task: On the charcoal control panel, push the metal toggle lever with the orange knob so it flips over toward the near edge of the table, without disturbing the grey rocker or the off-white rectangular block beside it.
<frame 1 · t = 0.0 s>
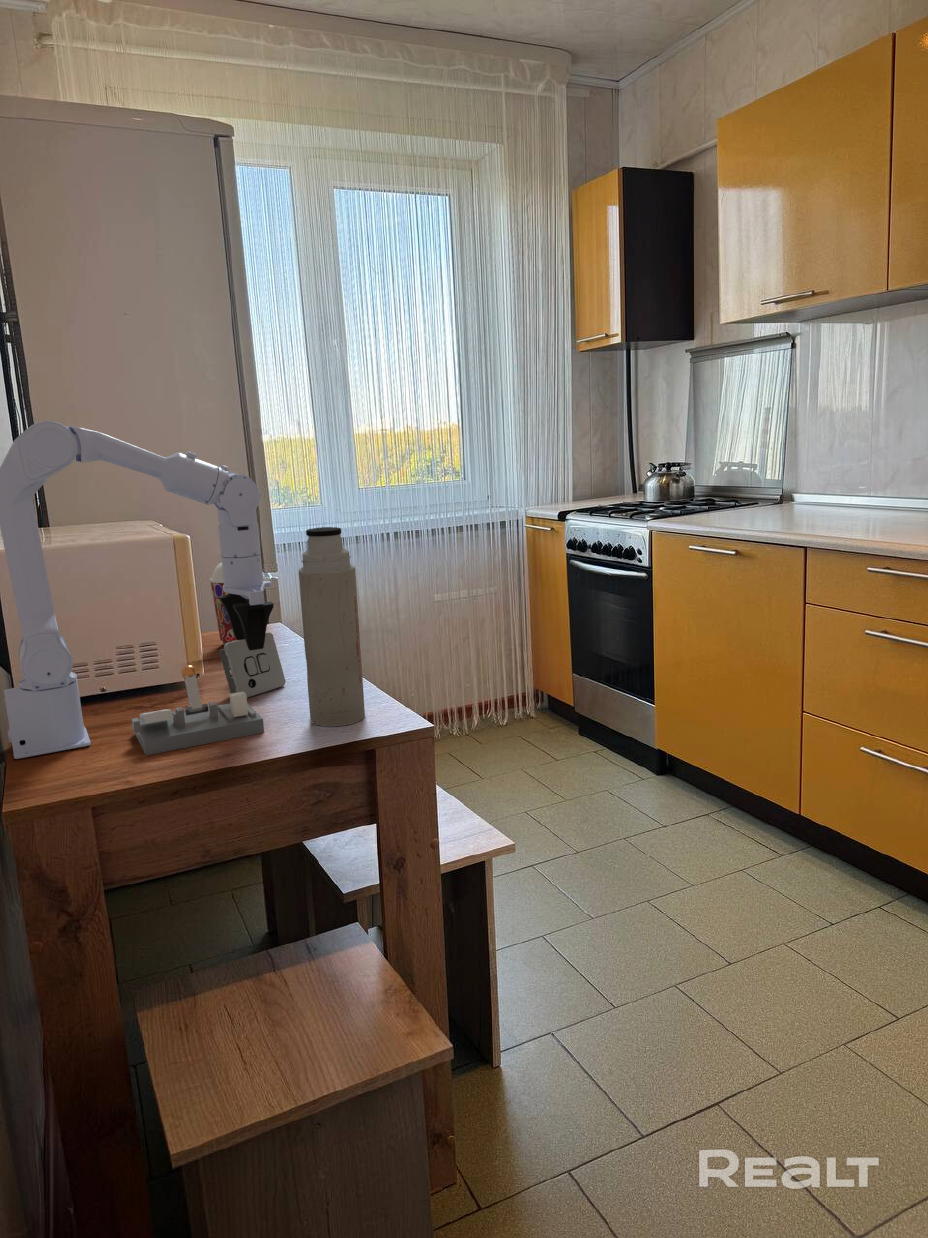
hand: (249, 644, 132), 10 cm above the table, tool pointing down, fingers open, 7 cm apart
off-white rectangular block: (238, 704, 124), point 4 cm above the table, slide at -2.0 cm
thermos bottle: (337, 719, 128), on the table
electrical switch: (253, 692, 143), on the table
supplement bottle: (255, 675, 153), on the table
rocker: (156, 715, 121), point 4 cm above the table, hinge at -15.0°
smoothie: (238, 645, 175), on the table
lever: (192, 689, 124), point 6 cm above the table, hinge at -30.0°
panel: (199, 733, 124), on the table
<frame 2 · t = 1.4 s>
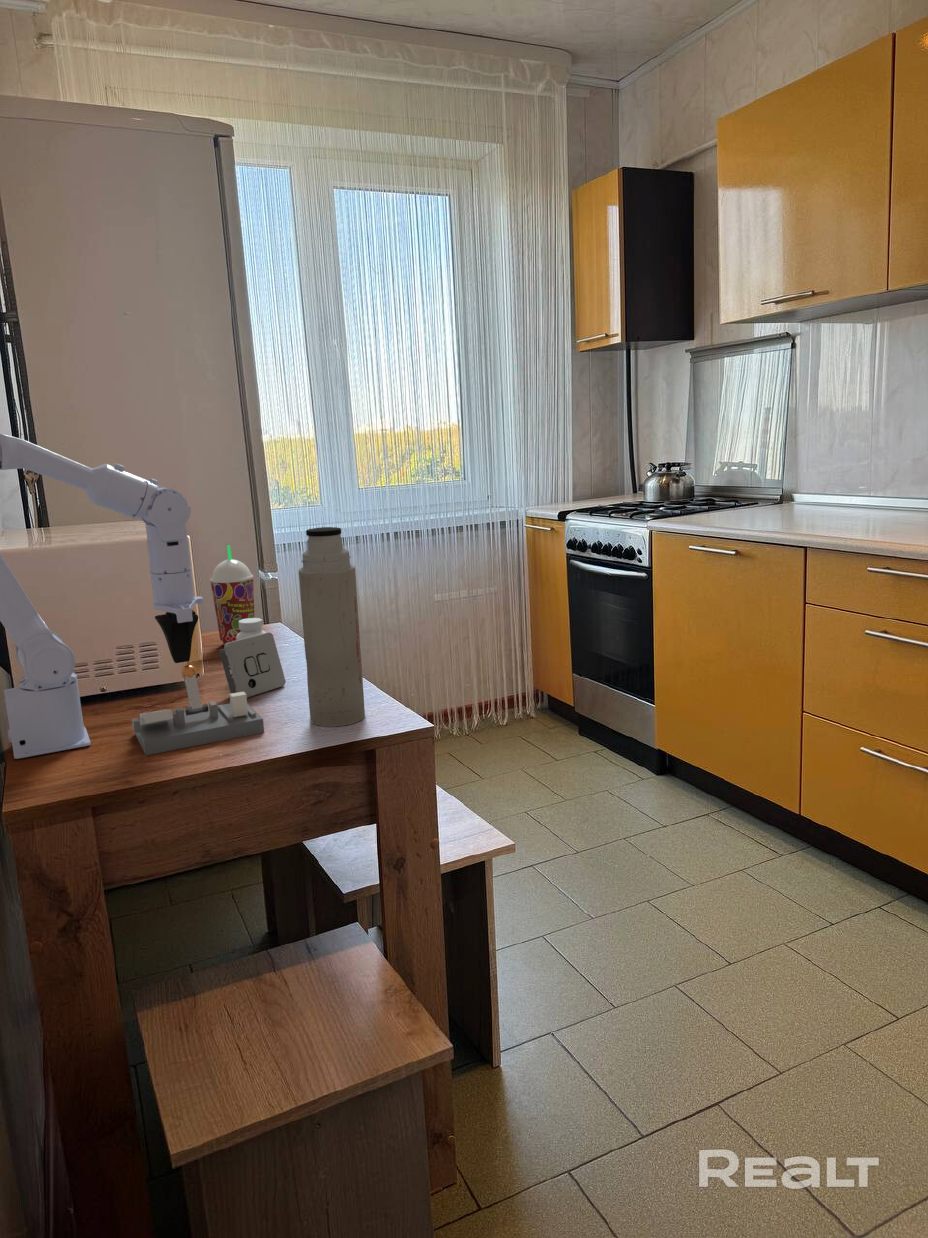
hand: (181, 661, 130), 9 cm above the table, tool pointing down, fingers closed
nothing on the table moved.
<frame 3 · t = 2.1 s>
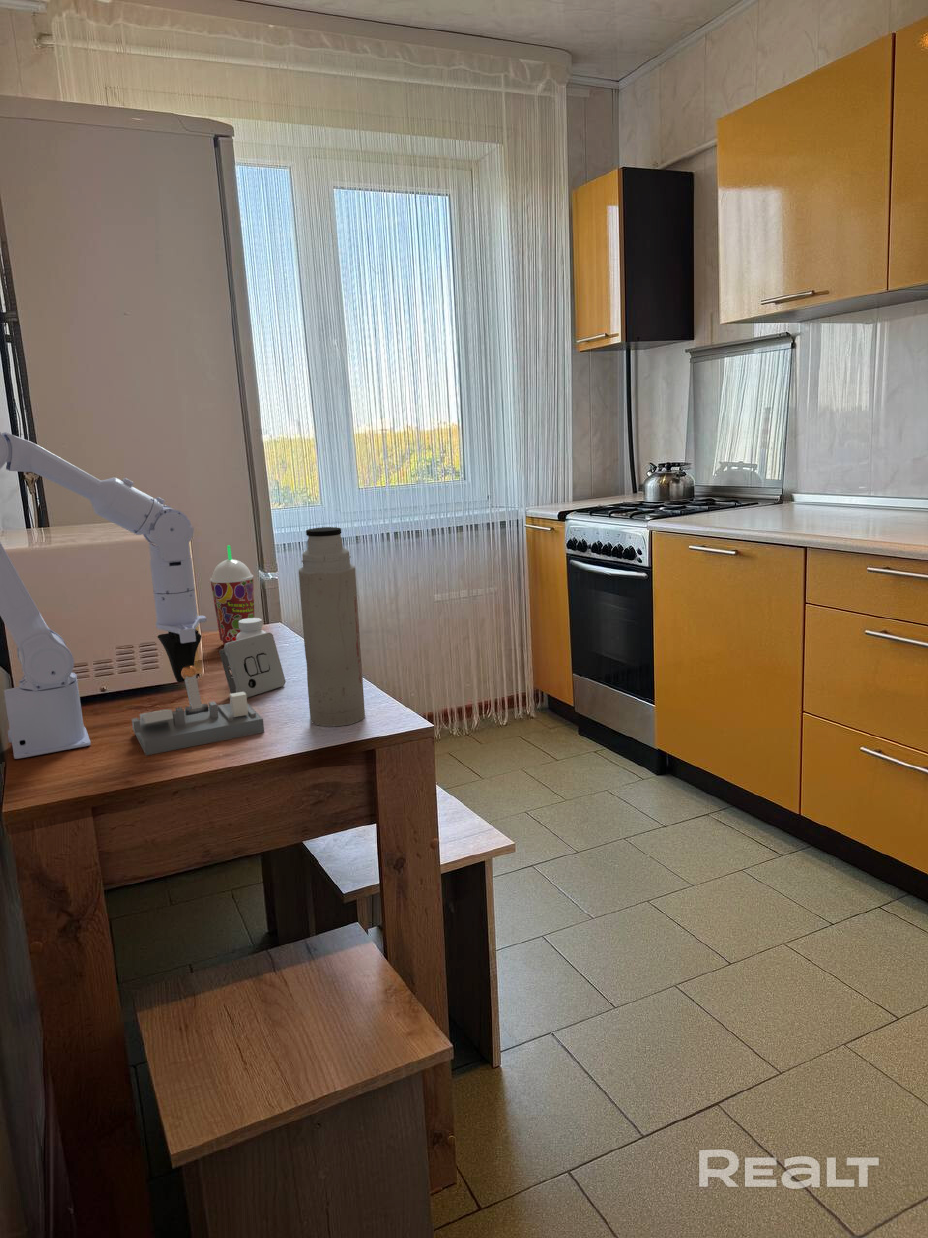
hand: (184, 680, 129), 6 cm above the table, tool pointing down, fingers closed
nothing on the table moved.
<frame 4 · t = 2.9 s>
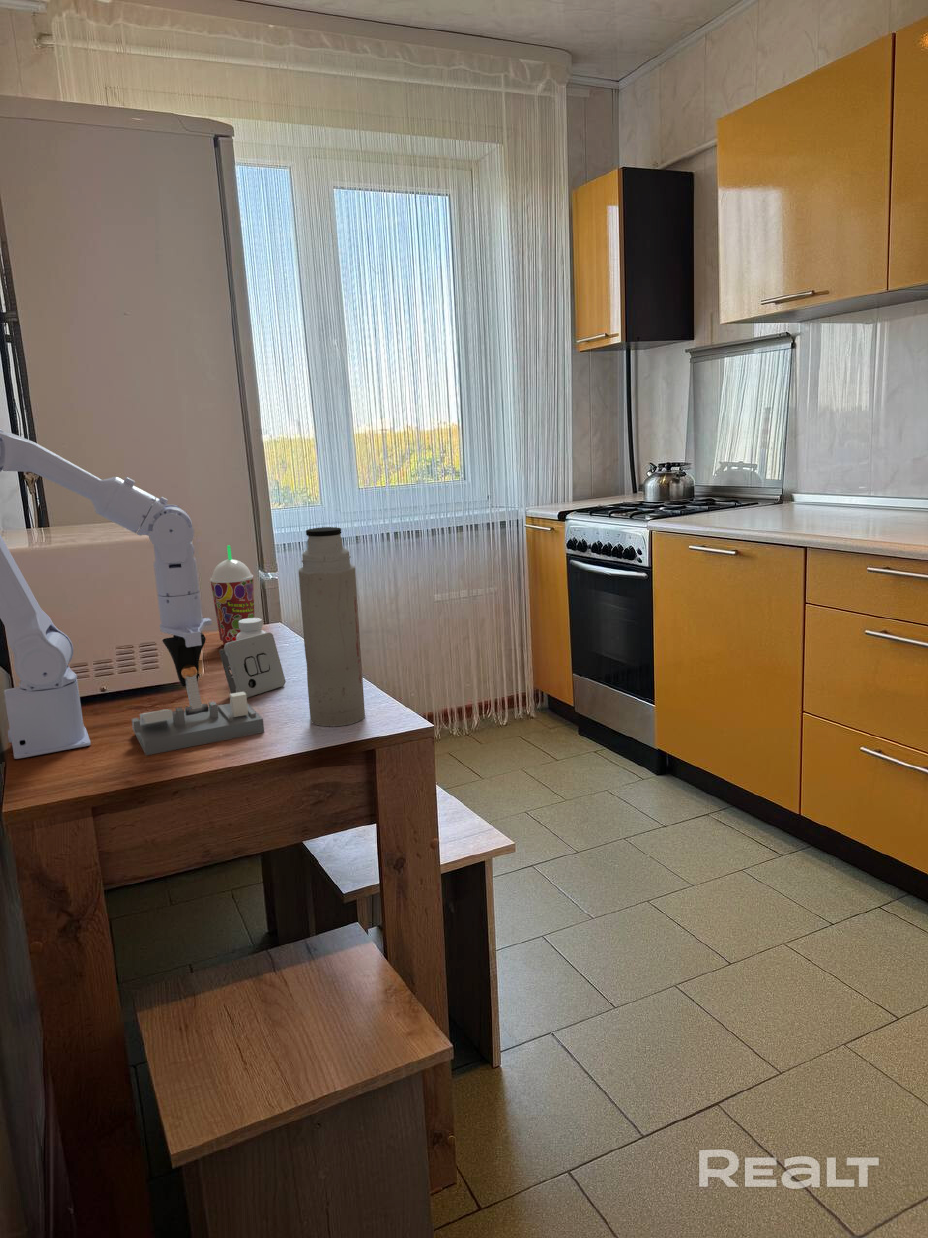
hand: (189, 684, 126), 6 cm above the table, tool pointing down, fingers closed, pressing on lever
lever: (192, 689, 124), point 6 cm above the table, hinge at -28.0°, touching gripper
everything else where it was.
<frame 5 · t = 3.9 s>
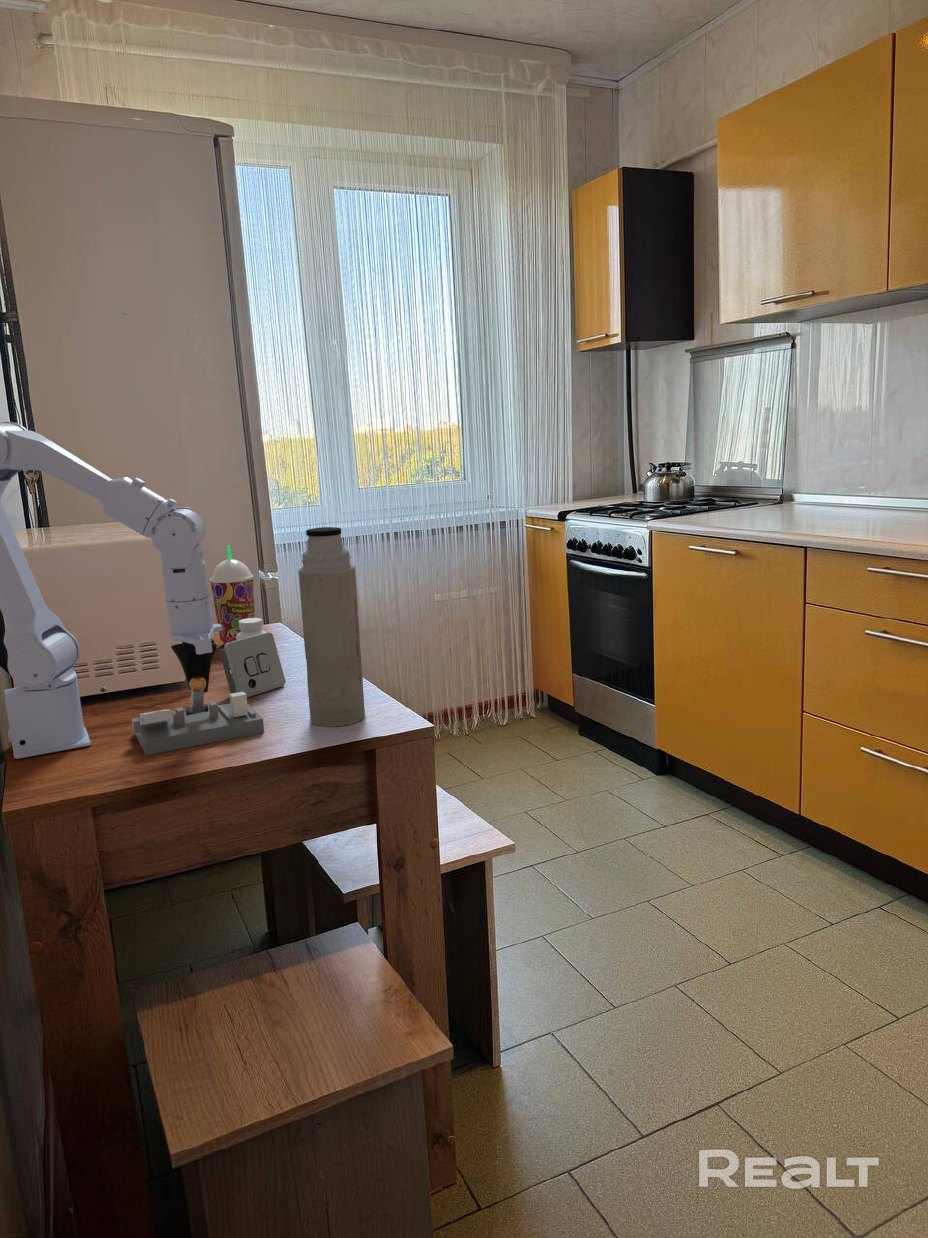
hand: (199, 692, 122), 6 cm above the table, tool pointing down, fingers closed, pressing on lever
lever: (197, 695, 121), point 6 cm above the table, hinge at 34.0°, touching gripper
everything else where it was.
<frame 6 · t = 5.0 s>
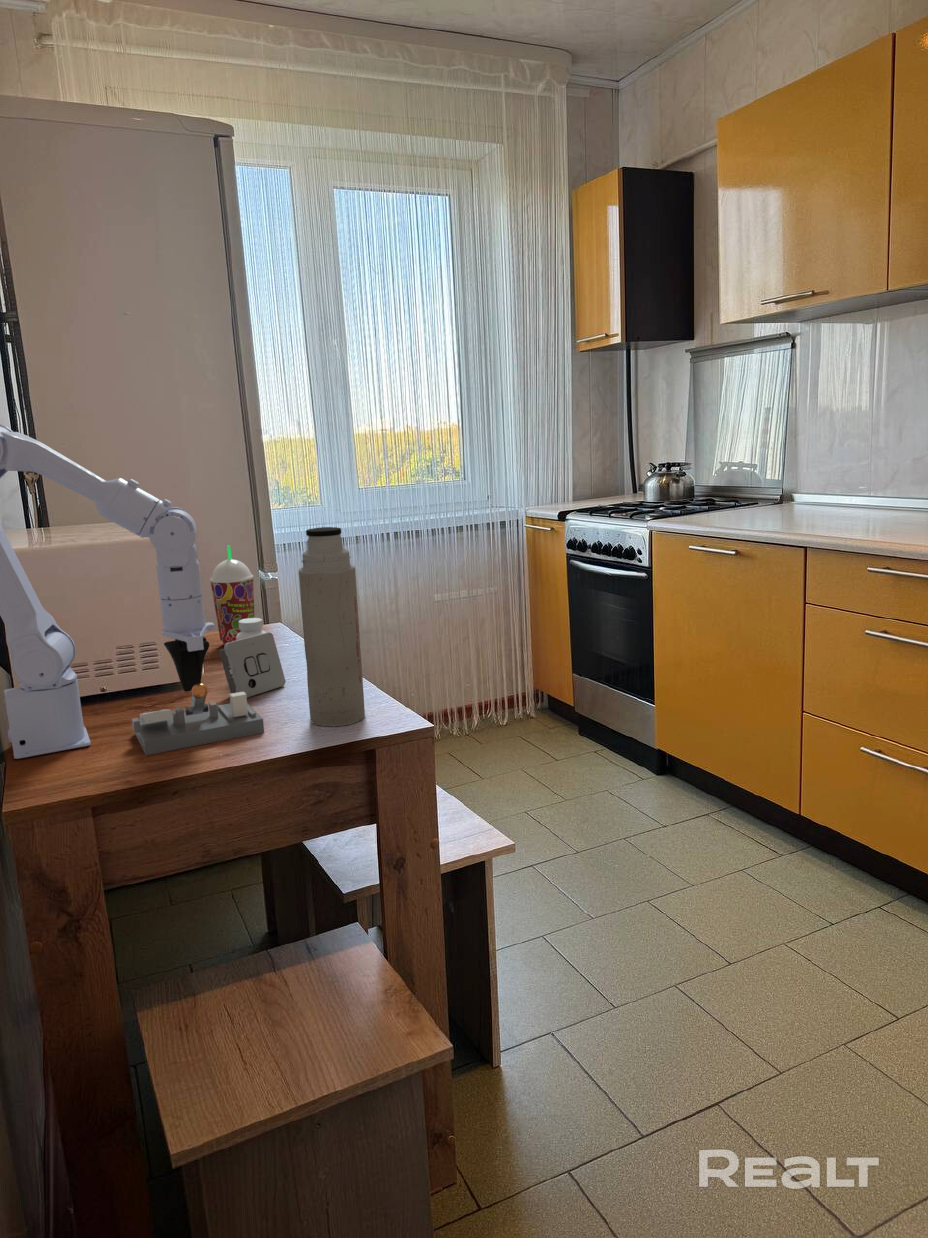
hand: (191, 689, 125), 6 cm above the table, tool pointing down, fingers closed
lever: (198, 699, 121), point 6 cm above the table, hinge at 46.9°
everything else where it was.
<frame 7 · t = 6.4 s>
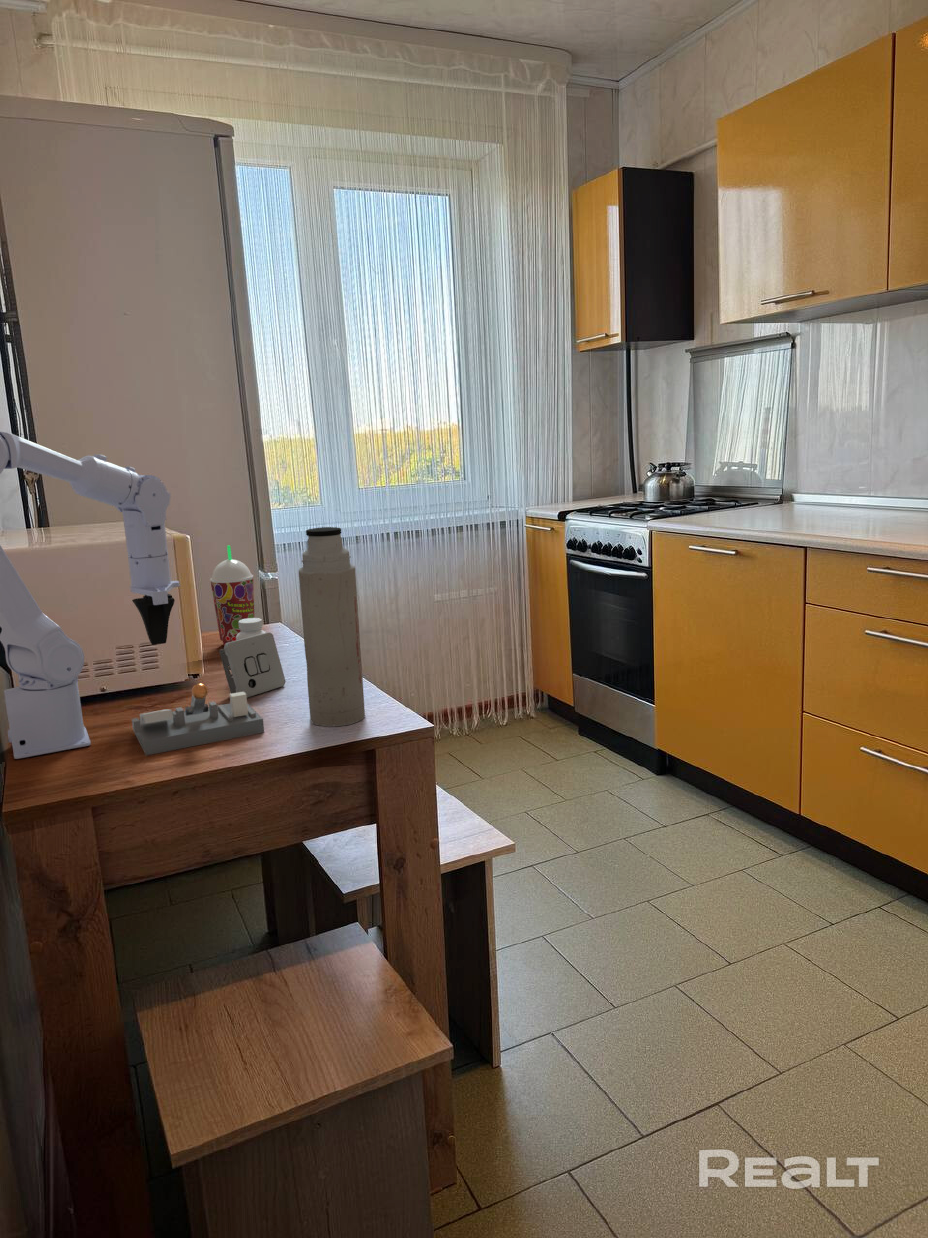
hand: (158, 643, 134), 10 cm above the table, tool pointing down, fingers closed
nothing on the table moved.
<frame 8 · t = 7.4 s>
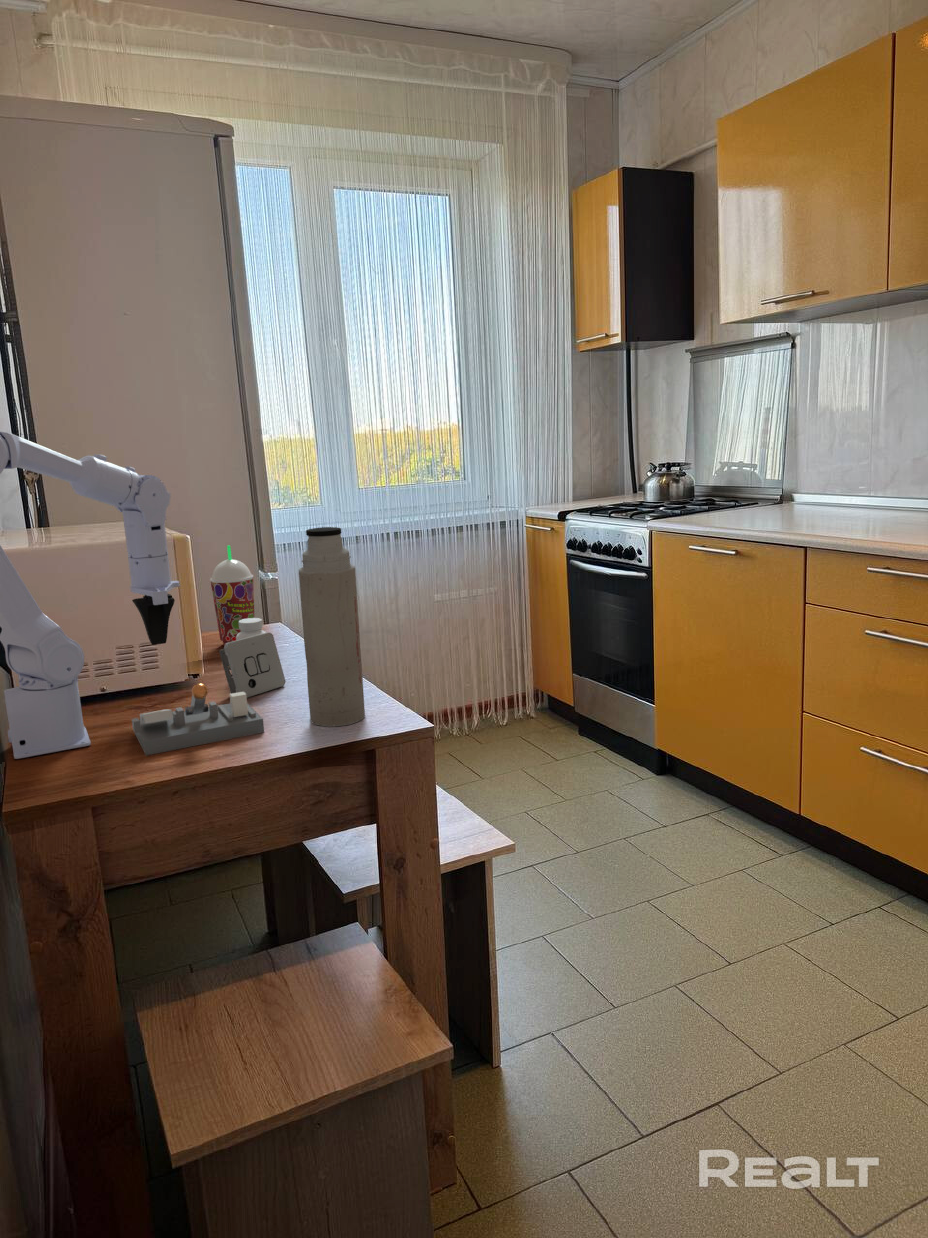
hand: (158, 643, 134), 10 cm above the table, tool pointing down, fingers closed
nothing on the table moved.
at the end: lever at +47° (first picture: -30°); rocker at -15° (first picture: -15°); off-white rectangular block slide at -2.0 cm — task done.
